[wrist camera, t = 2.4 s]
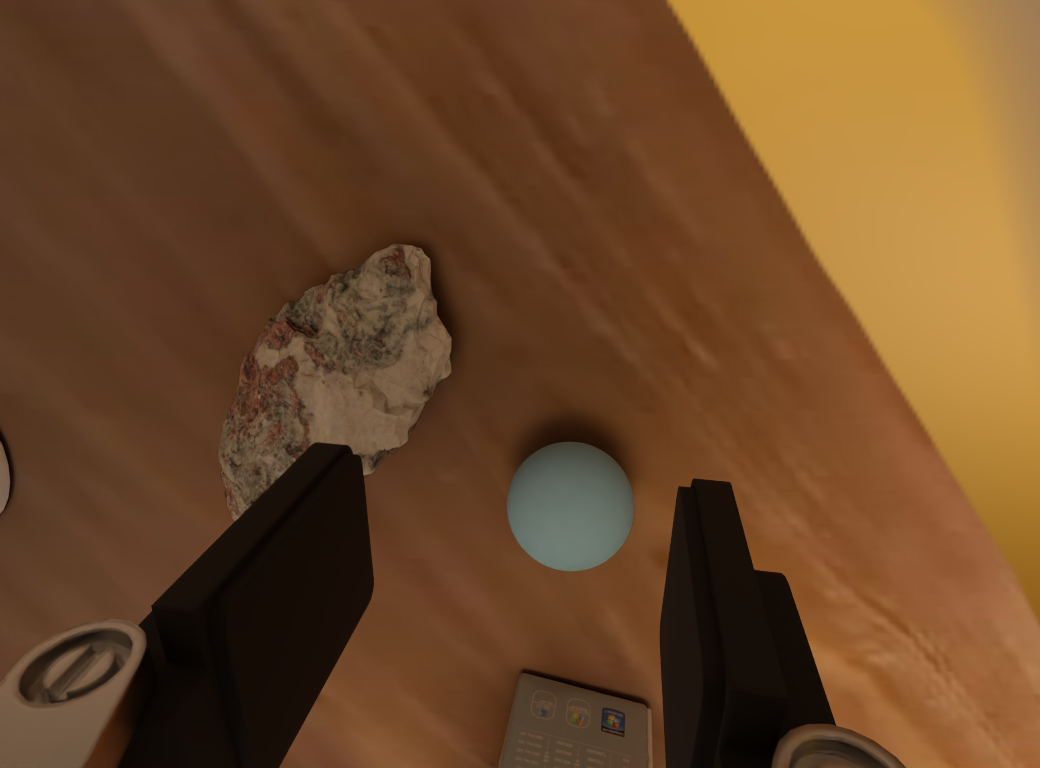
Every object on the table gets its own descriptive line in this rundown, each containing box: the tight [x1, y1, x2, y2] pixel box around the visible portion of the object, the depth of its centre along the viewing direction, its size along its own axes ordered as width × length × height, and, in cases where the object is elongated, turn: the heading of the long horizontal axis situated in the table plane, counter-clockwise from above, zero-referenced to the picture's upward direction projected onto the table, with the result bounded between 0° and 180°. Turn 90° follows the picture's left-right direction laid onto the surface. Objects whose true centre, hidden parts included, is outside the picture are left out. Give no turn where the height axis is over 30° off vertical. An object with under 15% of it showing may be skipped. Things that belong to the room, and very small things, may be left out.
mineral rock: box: [219, 244, 452, 521], centre depth 28 cm, size 15×8×4 cm, turn 128°
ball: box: [507, 442, 635, 571], centre depth 27 cm, size 6×6×6 cm
